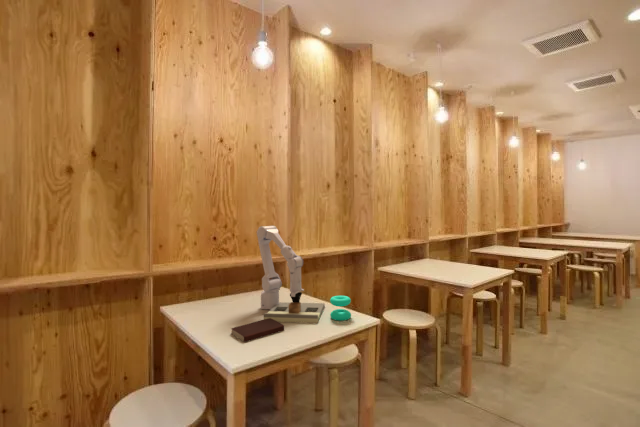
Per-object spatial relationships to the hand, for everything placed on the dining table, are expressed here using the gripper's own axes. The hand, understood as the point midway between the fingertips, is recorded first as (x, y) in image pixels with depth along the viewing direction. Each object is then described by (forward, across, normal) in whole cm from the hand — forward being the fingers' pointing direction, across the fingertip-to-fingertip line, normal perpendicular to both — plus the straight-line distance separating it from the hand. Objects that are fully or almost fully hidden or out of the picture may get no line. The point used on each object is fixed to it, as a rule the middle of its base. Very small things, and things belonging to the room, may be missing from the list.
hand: (296, 307), depth 170 cm
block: (+1, -4, 0) cm, 4 cm away
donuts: (+3, -5, -23) cm, 24 cm away
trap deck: (+3, -1, 0) cm, 3 cm away
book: (+4, -27, +11) cm, 30 cm away
